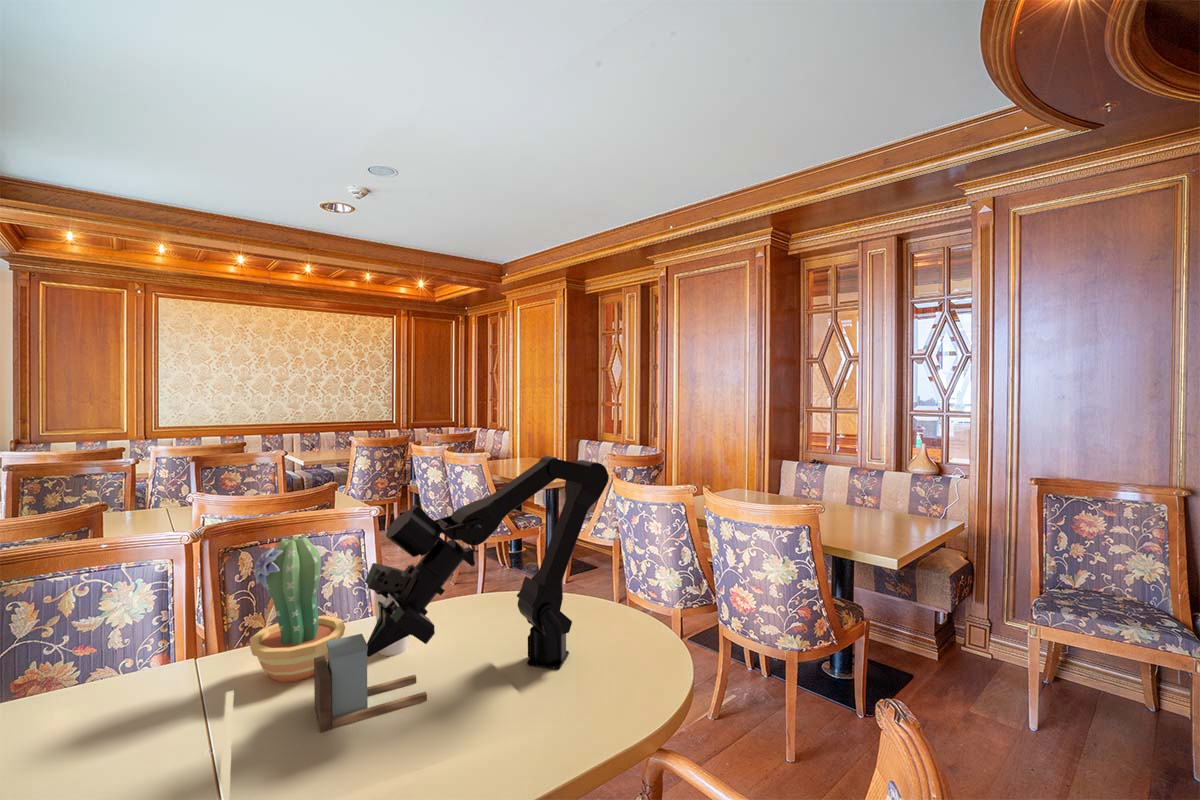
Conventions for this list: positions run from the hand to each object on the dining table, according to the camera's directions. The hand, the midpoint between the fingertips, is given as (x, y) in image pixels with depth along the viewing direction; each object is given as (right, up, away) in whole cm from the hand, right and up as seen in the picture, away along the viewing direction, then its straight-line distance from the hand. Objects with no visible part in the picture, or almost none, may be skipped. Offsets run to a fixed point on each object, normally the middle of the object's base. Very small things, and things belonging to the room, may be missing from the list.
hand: (365, 654), depth 89 cm
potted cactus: (-17, -10, +12) cm, 23 cm away
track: (+1, -9, 0) cm, 9 cm away
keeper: (-2, -8, -1) cm, 9 cm away
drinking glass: (-3, -9, +20) cm, 22 cm away
